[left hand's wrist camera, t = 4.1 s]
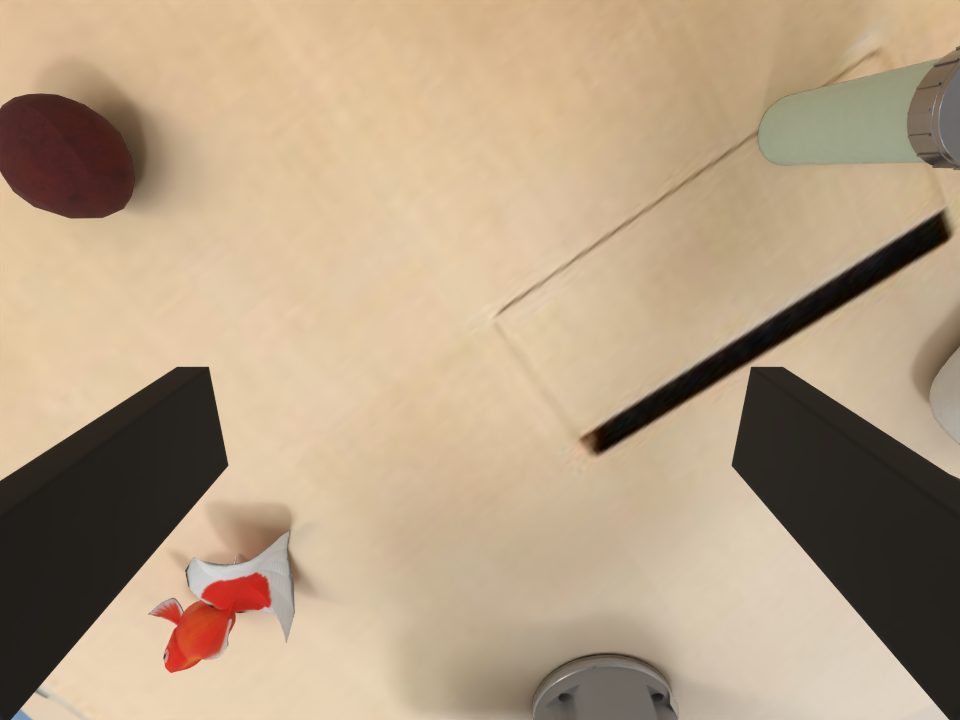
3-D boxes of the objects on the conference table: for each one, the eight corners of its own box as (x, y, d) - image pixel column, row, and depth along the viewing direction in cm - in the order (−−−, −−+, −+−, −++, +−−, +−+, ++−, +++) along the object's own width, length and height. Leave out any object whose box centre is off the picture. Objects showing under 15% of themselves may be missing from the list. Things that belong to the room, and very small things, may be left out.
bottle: (754, 106, 35) (937, 62, 21) (821, 85, 35) (1054, 26, 21) (761, 173, 37) (936, 174, 23) (825, 153, 36) (1045, 142, 22)
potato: (97, 79, 35) (7, 57, 28) (180, 179, 37) (115, 181, 30) (26, 144, 36) (-76, 137, 29) (110, 237, 38) (32, 250, 32)
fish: (96, 592, 44) (89, 693, 37) (251, 475, 48) (274, 544, 40) (185, 639, 51) (195, 732, 43) (316, 532, 54) (347, 601, 47)
